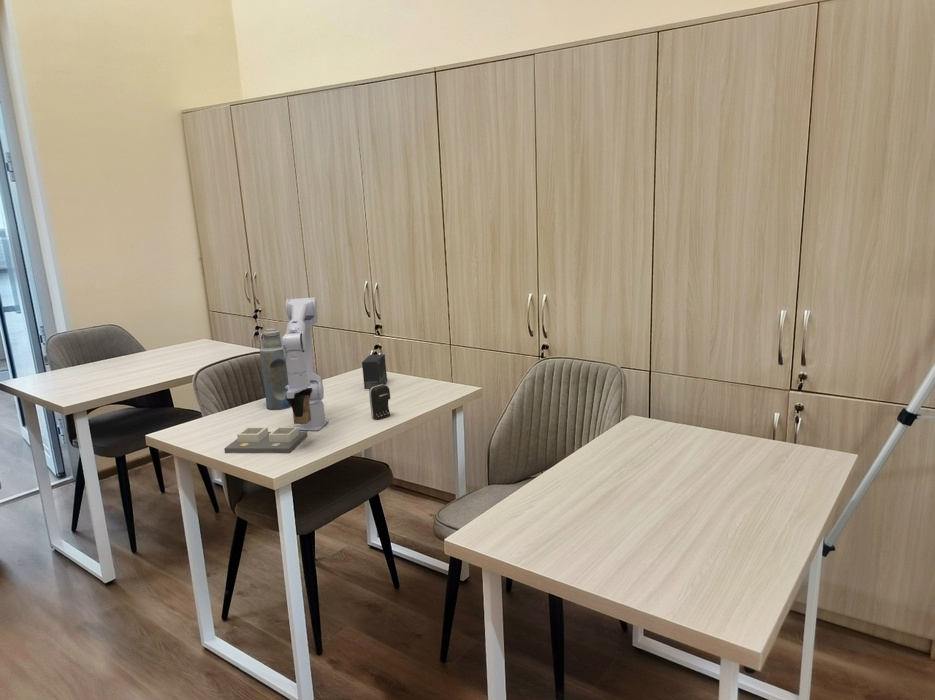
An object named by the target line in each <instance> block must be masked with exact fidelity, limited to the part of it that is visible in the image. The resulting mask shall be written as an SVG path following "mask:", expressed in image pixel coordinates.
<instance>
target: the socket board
mask: <svg viewBox="0 0 935 700" xmlns="http://www.w3.org/2000/svg"><path fill="white" fill-rule="evenodd" d="M298 427H299V426H281V427H280V426H278V427H276V428H275V429H274V430H272V431H269V429H268V426H266V427H265V426H264V427H263V426H261V427H260V426H257V427H256V426H255V427H254V426H253V427H251V426H247V427H245V428H244V429H243V430H242V431H240V432H238V433H237V434H236V439H235V440H234V441H233V442H231V443H230V444H228V445H227V446H225V447H224V449H223V450H224V453H225V454H290V453H291V452H292V451H294V450H295V448H296V447H297V445H298V446H299V445H300V444H301V443H302V442H303V441H304V440H305V439H307V437H308V435H309V434H308V431H300V430H299V429H298Z"/></svg>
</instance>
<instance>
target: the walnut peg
mask: <svg viewBox="0 0 935 700" xmlns="http://www.w3.org/2000/svg"><path fill="white" fill-rule="evenodd" d="M292 416H293V424H294V425H301V424H307V423H308V422H309V421H311V413H310V403H309V395H305V398H304V401H303V415H302V417H295V415H294V412H293V411H292Z"/></svg>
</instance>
